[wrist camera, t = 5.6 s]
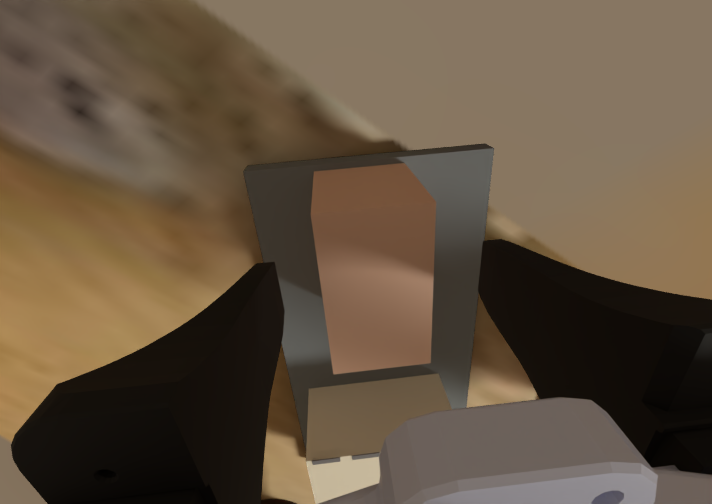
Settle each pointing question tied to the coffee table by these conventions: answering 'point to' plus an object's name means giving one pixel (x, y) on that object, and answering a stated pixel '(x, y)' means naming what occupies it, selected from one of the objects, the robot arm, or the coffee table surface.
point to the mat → (451, 263)
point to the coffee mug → (276, 501)
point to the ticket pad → (361, 428)
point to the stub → (375, 265)
